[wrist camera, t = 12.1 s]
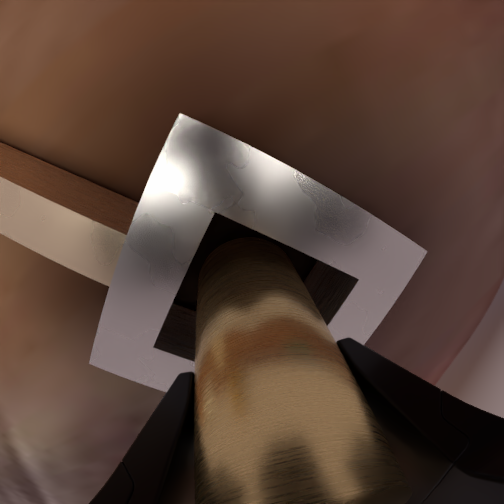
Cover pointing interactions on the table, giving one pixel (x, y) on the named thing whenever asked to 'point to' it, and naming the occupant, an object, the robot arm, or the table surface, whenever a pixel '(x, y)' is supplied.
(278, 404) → the brown mottled cylinder
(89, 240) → the square frame with handle
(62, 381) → the table surface
